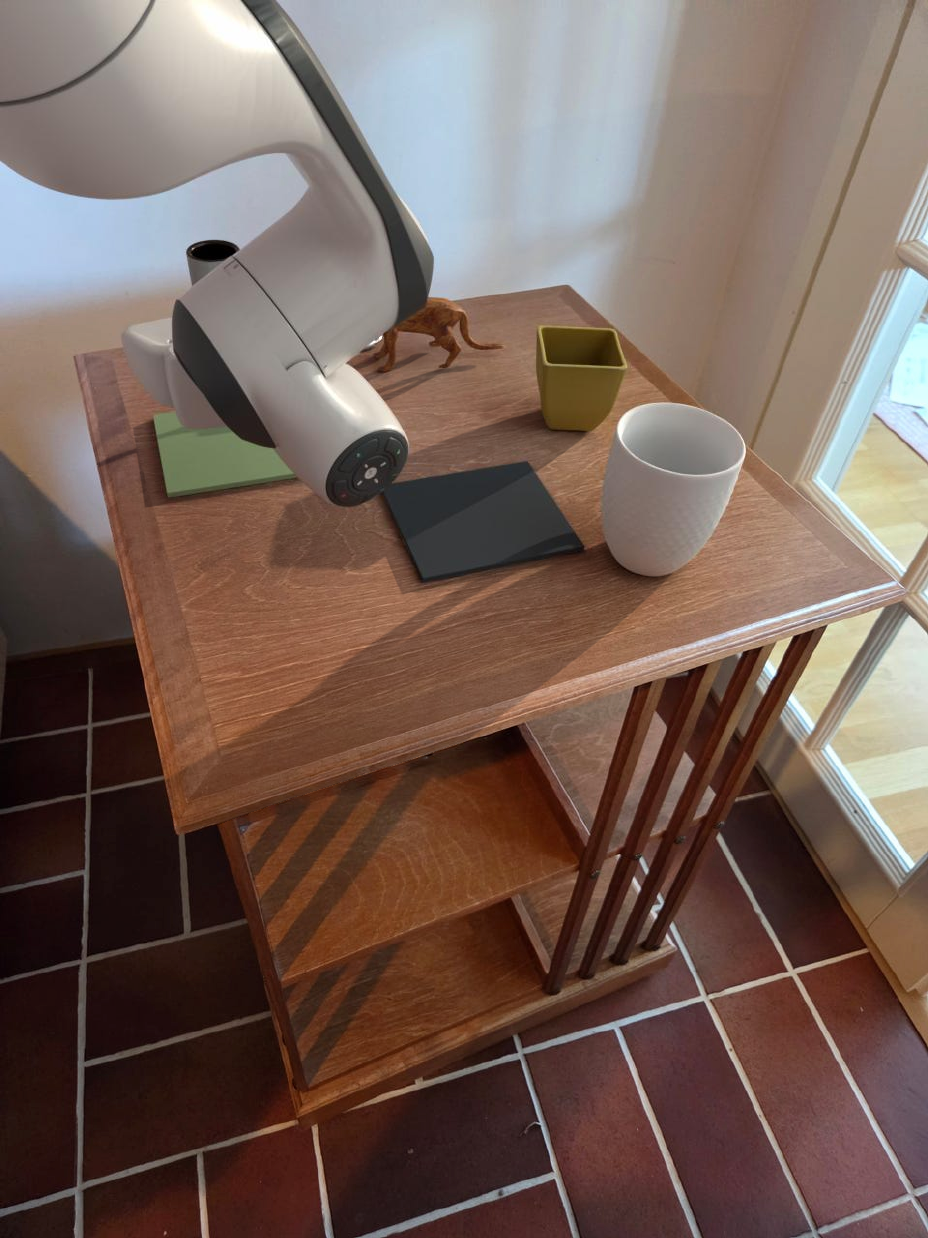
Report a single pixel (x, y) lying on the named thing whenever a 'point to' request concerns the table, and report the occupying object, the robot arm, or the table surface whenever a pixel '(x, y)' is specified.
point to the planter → (208, 257)
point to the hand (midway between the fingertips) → (217, 299)
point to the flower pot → (578, 375)
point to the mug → (667, 484)
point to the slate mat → (478, 520)
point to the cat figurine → (433, 331)
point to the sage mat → (212, 459)
